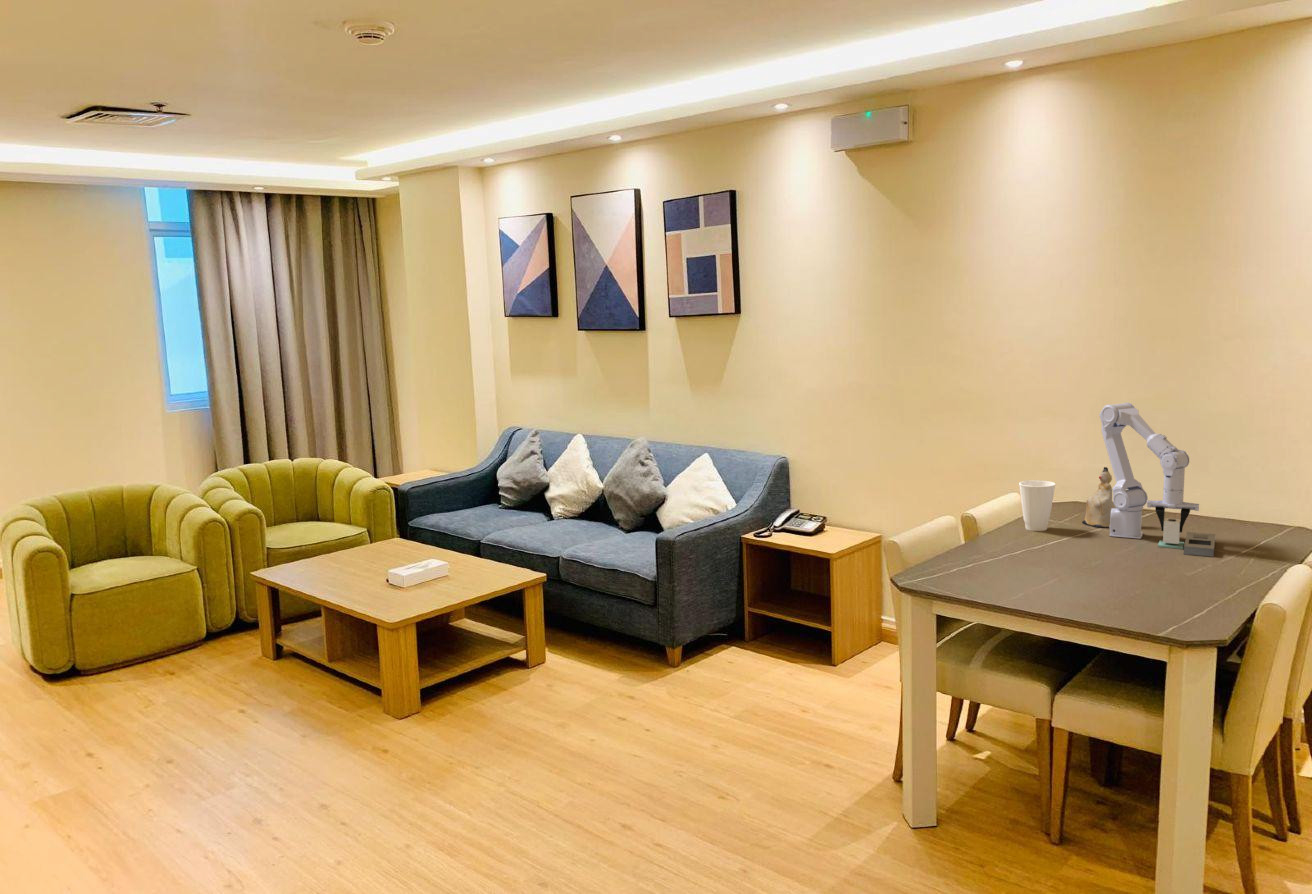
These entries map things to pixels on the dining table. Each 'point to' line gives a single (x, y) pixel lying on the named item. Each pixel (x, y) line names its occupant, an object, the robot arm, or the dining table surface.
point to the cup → (1036, 503)
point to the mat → (1171, 545)
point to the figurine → (1100, 503)
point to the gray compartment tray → (1199, 544)
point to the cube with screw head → (1171, 531)
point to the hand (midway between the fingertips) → (1171, 531)
